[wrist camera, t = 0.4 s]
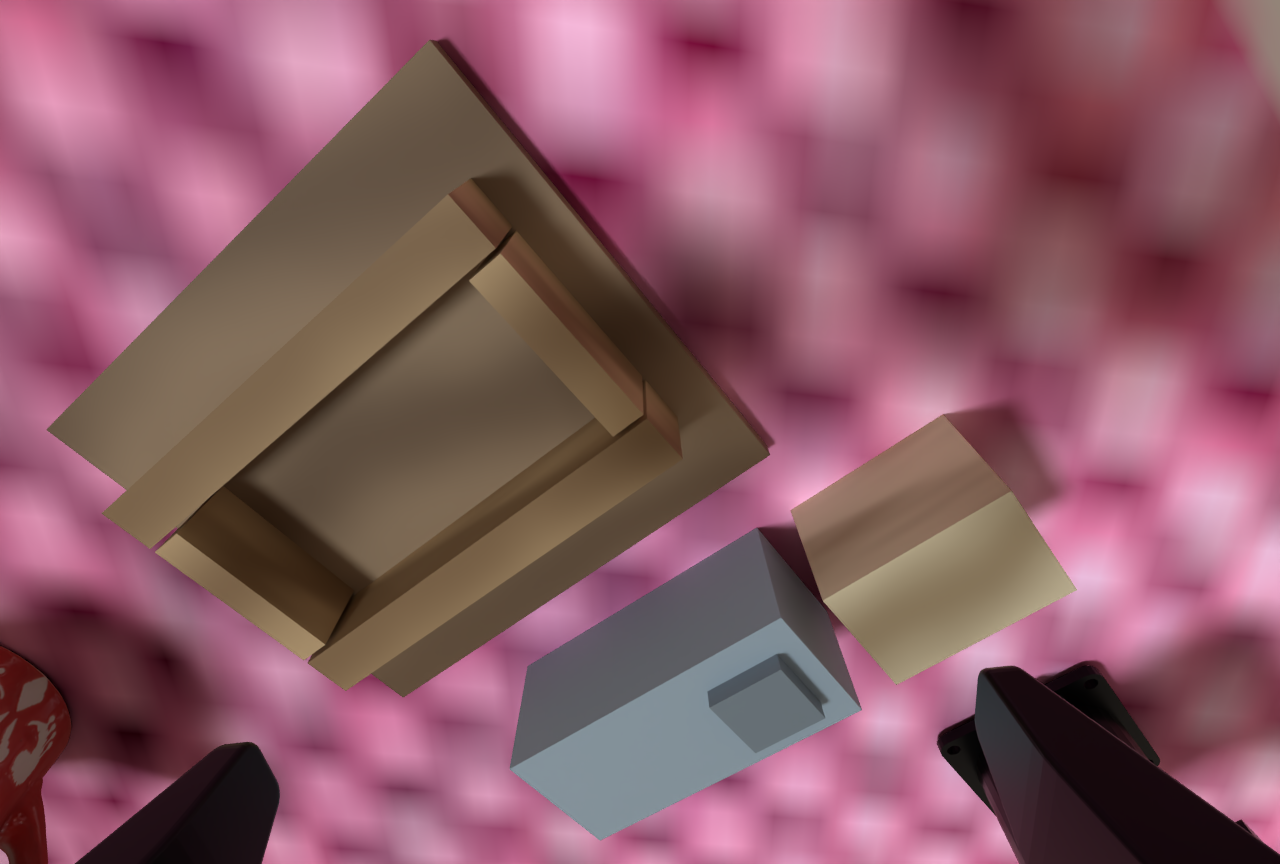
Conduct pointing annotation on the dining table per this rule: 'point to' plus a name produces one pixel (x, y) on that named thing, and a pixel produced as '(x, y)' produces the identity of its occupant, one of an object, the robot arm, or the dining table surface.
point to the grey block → (681, 690)
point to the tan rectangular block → (926, 552)
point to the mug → (27, 755)
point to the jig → (406, 399)
